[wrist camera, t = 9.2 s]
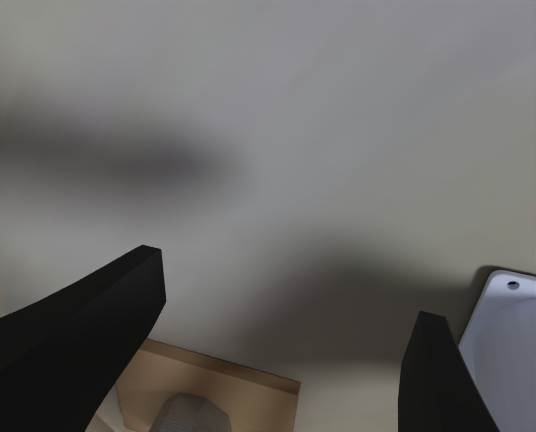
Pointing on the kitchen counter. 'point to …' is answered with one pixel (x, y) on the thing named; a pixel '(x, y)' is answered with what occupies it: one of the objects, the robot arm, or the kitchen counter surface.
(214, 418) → the hub
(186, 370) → the thin wooden board
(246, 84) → the kitchen counter surface
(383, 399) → the kitchen counter surface
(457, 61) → the kitchen counter surface
